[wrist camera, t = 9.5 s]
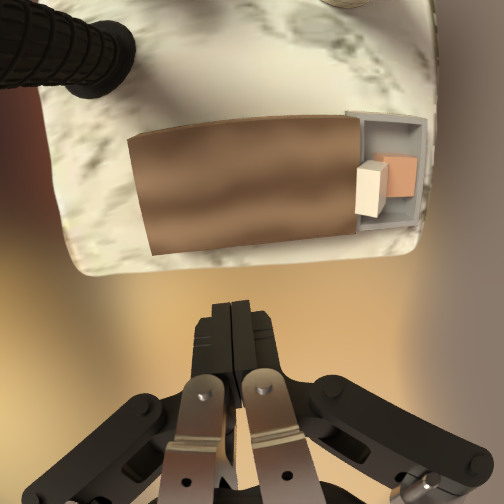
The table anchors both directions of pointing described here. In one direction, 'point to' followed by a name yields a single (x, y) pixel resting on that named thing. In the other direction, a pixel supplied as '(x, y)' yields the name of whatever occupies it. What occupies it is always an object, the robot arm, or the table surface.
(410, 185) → the terracotta tile
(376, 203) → the cream tile
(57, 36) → the handle grip
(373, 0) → the table surface
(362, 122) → the box
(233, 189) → the walnut platform
